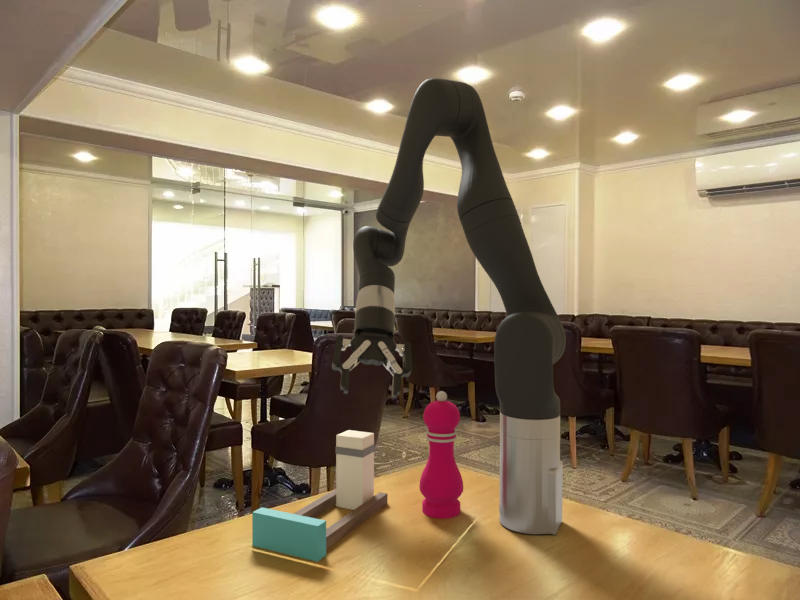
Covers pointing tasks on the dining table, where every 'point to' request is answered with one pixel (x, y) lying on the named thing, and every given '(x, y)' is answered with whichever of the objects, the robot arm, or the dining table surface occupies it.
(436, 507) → the pepper mill
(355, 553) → the dining table surface
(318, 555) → the teal rectangular block
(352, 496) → the sleeve
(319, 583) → the dining table surface
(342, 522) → the guide rails
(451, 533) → the dining table surface
